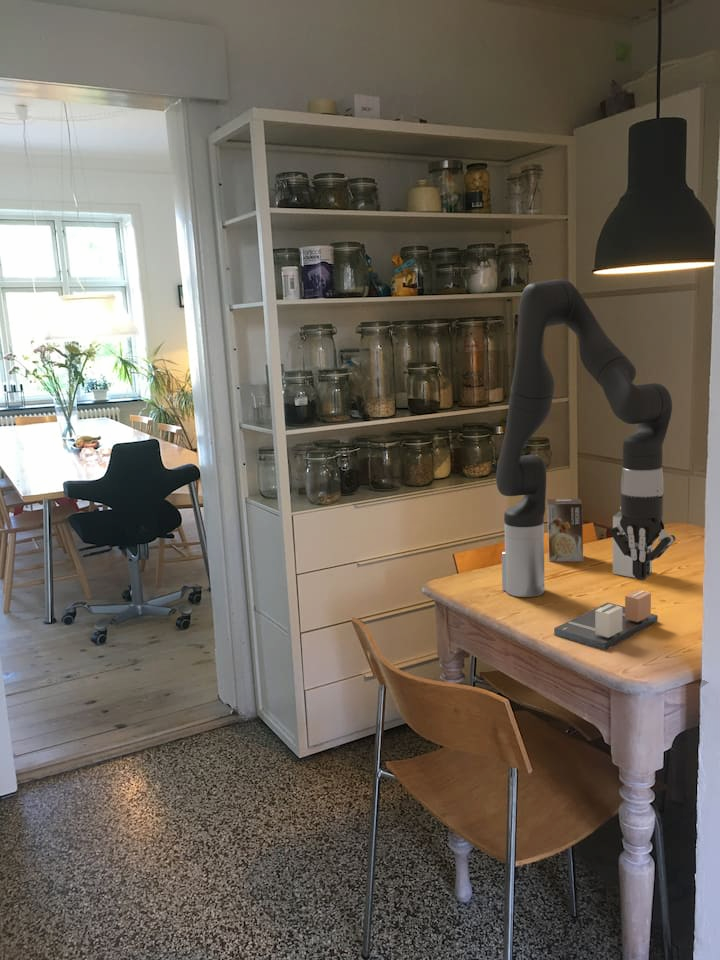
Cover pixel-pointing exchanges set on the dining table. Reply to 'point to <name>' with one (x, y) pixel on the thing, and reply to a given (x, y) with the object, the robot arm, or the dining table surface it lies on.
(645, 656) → the dining table surface
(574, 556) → the coffee box
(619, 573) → the milk carton
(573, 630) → the console board
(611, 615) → the block
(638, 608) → the fader terracotta
